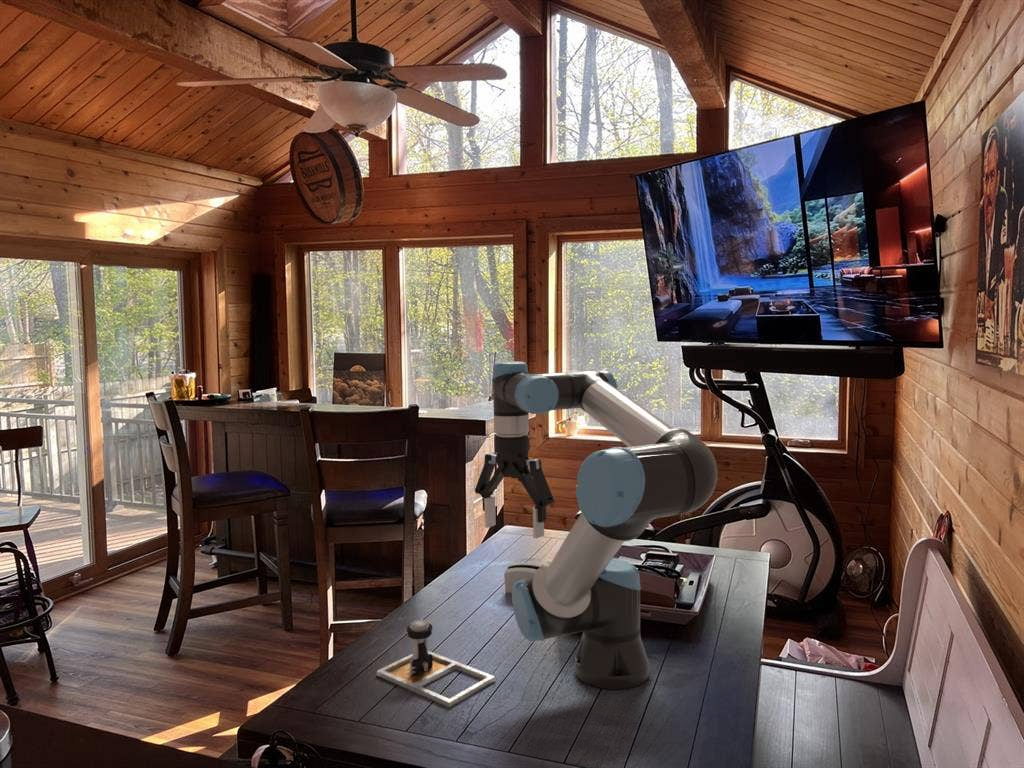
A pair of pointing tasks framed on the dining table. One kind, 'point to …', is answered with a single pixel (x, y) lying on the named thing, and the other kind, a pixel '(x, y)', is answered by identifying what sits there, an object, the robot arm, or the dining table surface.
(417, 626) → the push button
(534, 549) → the dining table surface
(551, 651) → the dining table surface
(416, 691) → the white divided frame
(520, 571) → the white rounded block
